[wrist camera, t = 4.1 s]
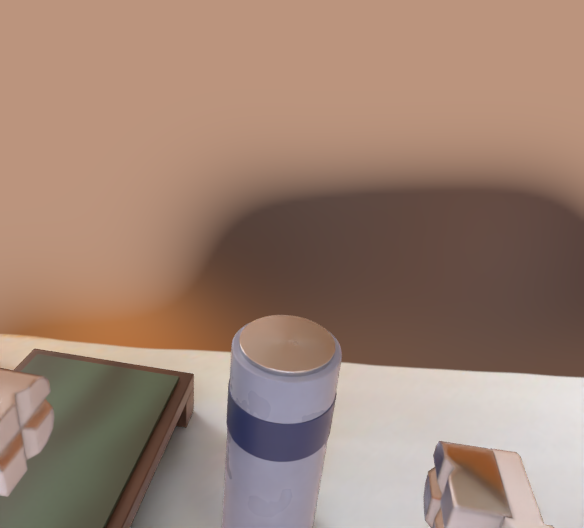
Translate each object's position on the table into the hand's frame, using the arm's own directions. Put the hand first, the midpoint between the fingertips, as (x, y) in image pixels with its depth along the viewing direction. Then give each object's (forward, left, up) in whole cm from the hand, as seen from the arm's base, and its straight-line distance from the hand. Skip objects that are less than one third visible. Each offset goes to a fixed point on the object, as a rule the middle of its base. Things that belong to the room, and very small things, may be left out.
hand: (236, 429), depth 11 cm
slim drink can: (0, -13, -20) cm, 24 cm away
